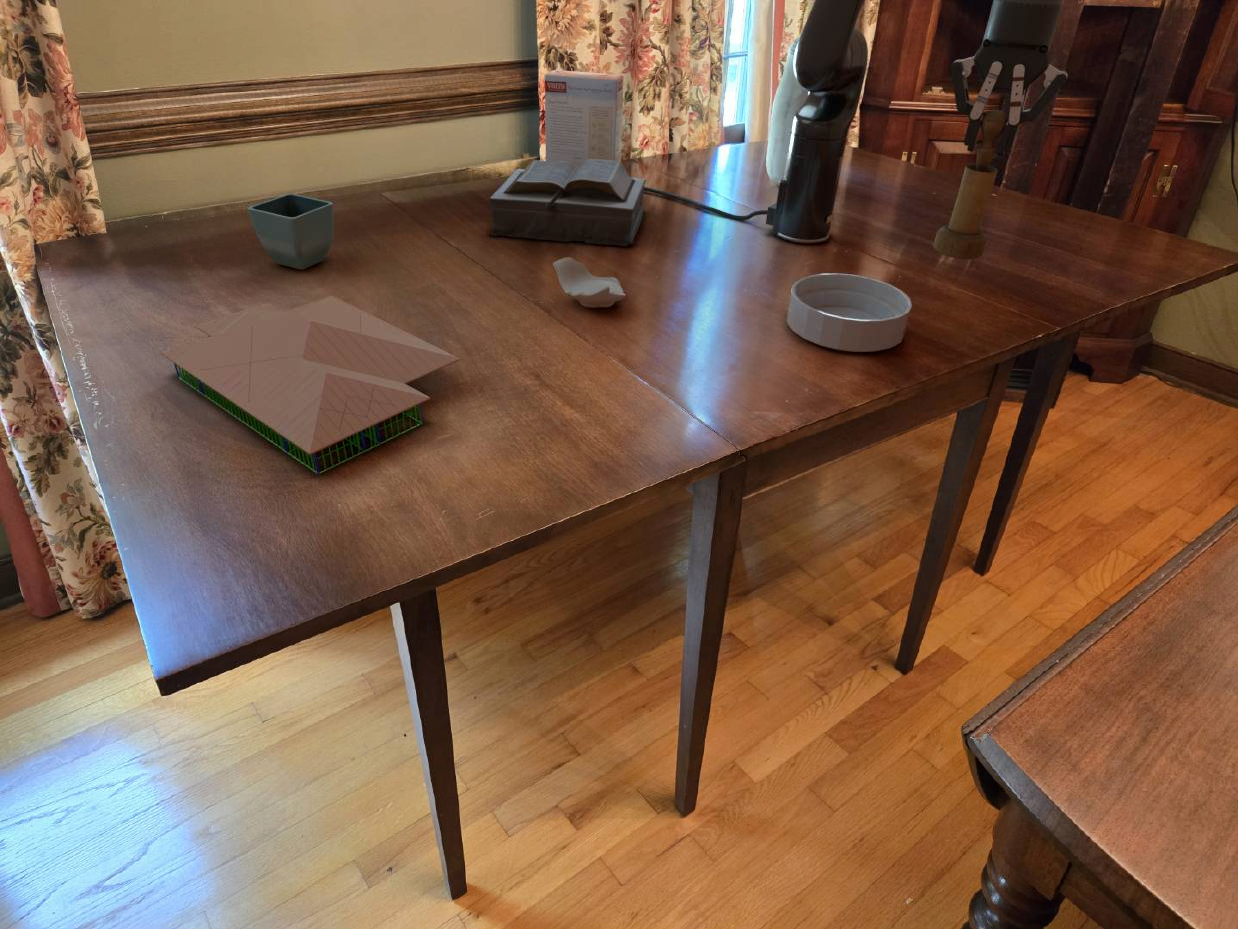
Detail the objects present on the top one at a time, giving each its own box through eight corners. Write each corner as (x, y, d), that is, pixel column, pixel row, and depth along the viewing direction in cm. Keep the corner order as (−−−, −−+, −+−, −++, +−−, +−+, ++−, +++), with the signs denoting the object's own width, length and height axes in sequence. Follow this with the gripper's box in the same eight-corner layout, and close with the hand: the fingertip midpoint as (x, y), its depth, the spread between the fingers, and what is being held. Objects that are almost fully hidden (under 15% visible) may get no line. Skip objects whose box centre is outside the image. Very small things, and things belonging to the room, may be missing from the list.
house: (324, 312, 113) (313, 254, 108) (487, 396, 96) (483, 333, 92) (156, 369, 98) (136, 306, 94) (315, 481, 82) (300, 410, 77)
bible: (621, 257, 134) (624, 196, 129) (472, 233, 141) (468, 174, 135) (661, 215, 153) (665, 160, 147) (527, 195, 159) (526, 142, 153)
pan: (770, 336, 112) (775, 302, 109) (806, 296, 124) (811, 265, 121) (888, 366, 106) (896, 331, 104) (913, 321, 118) (922, 288, 115)
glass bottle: (801, 195, 166) (827, 40, 150) (755, 186, 170) (774, 34, 154) (819, 184, 173) (845, 35, 157) (774, 175, 177) (794, 29, 161)
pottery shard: (619, 322, 114) (620, 288, 111) (541, 313, 116) (540, 280, 113) (632, 292, 123) (633, 260, 120) (559, 285, 124) (559, 253, 121)
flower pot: (343, 259, 129) (334, 201, 124) (303, 278, 122) (292, 218, 117) (300, 248, 132) (289, 192, 127) (258, 266, 125) (245, 207, 120)
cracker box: (620, 187, 166) (625, 73, 154) (613, 195, 161) (617, 79, 149) (553, 179, 168) (553, 67, 156) (545, 188, 163) (543, 73, 151)
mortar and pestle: (985, 262, 110) (1030, 118, 99) (935, 256, 110) (974, 114, 100) (978, 244, 115) (1019, 107, 104) (930, 239, 116) (966, 103, 105)
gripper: (1097, 0, 95) (1046, 154, 105) (971, -11, 101) (934, 137, 110) (1094, 5, 90) (1041, 168, 100) (961, -6, 95) (923, 149, 105)
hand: (985, 151), depth 105 cm, fingers closed on mortar and pestle, 3 cm apart
